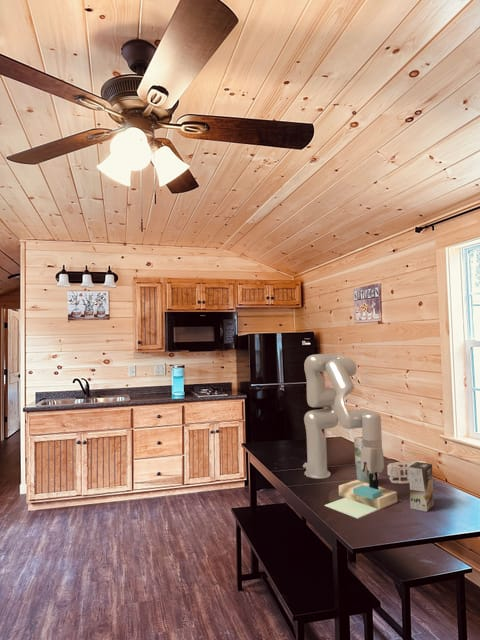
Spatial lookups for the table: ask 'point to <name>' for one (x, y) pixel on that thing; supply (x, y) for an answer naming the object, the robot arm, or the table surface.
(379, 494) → the teal flat block
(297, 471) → the table surface
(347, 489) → the deck
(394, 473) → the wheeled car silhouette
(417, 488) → the coffee box
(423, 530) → the table surface
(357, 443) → the syrup box
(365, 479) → the cup
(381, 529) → the table surface
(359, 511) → the mat
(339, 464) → the table surface
